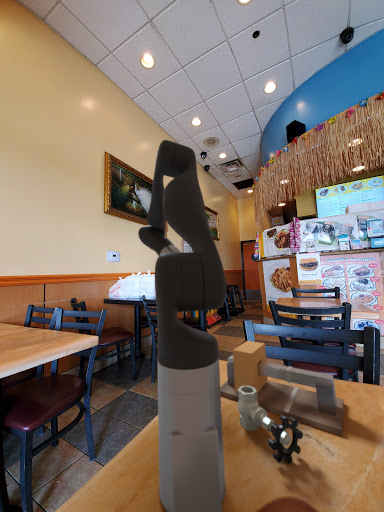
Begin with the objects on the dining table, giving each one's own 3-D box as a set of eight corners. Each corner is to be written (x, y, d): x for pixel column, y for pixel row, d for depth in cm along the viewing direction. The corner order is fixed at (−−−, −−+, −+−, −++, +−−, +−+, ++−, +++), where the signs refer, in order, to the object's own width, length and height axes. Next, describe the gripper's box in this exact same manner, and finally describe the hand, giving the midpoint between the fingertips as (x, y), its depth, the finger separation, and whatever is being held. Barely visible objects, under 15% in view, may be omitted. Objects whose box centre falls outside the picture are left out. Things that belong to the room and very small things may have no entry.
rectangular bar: (227, 384, 56) (226, 358, 57) (234, 378, 59) (233, 354, 60) (335, 416, 41) (331, 380, 42) (336, 406, 44) (333, 373, 45)
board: (217, 393, 53) (217, 389, 53) (237, 376, 62) (237, 372, 63) (341, 435, 37) (341, 429, 38) (343, 403, 47) (343, 398, 47)
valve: (229, 423, 42) (274, 472, 31) (227, 388, 43) (270, 424, 32) (256, 414, 44) (305, 456, 34) (253, 381, 45) (301, 412, 34)
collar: (235, 390, 51) (232, 350, 53) (250, 375, 59) (247, 340, 60) (254, 396, 48) (251, 353, 50) (267, 380, 56) (264, 343, 57)
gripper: (166, 249, 68) (198, 287, 59) (191, 253, 79) (221, 285, 70) (155, 267, 71) (184, 305, 62) (180, 268, 81) (208, 300, 72)
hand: (203, 294), depth 66 cm, fingers closed
